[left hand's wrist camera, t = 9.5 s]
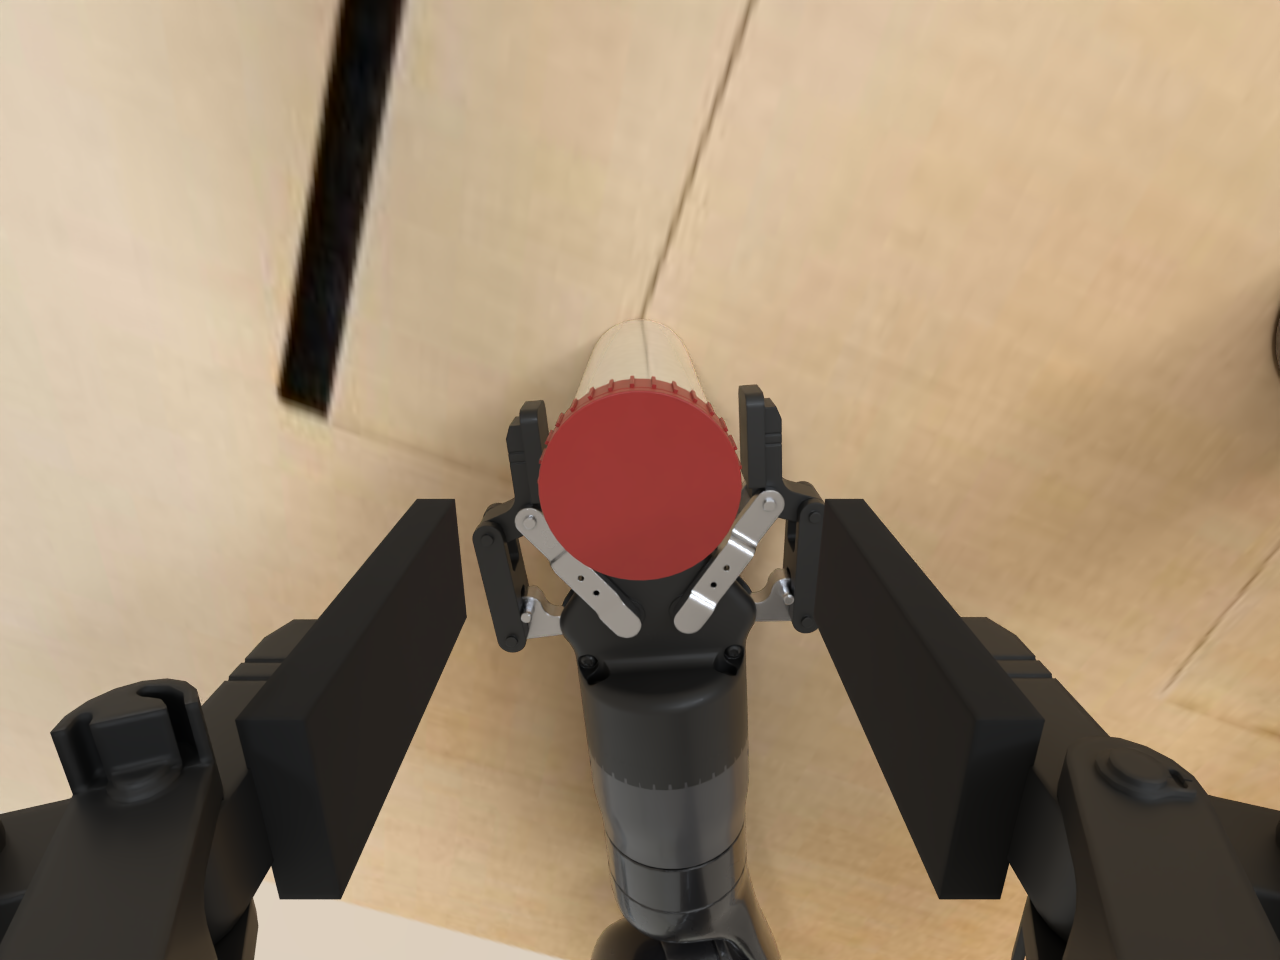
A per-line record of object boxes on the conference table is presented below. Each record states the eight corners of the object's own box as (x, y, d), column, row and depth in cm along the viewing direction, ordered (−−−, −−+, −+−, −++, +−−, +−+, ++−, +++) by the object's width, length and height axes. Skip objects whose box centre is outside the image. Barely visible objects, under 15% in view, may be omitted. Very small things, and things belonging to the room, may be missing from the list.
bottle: (646, 296, 32) (651, 355, 17) (711, 376, 33) (768, 494, 18) (568, 364, 33) (510, 474, 18) (634, 439, 34) (630, 598, 19)
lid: (651, 332, 18) (652, 341, 16) (775, 481, 19) (786, 502, 18) (503, 459, 19) (491, 479, 18) (629, 591, 21) (628, 618, 19)
